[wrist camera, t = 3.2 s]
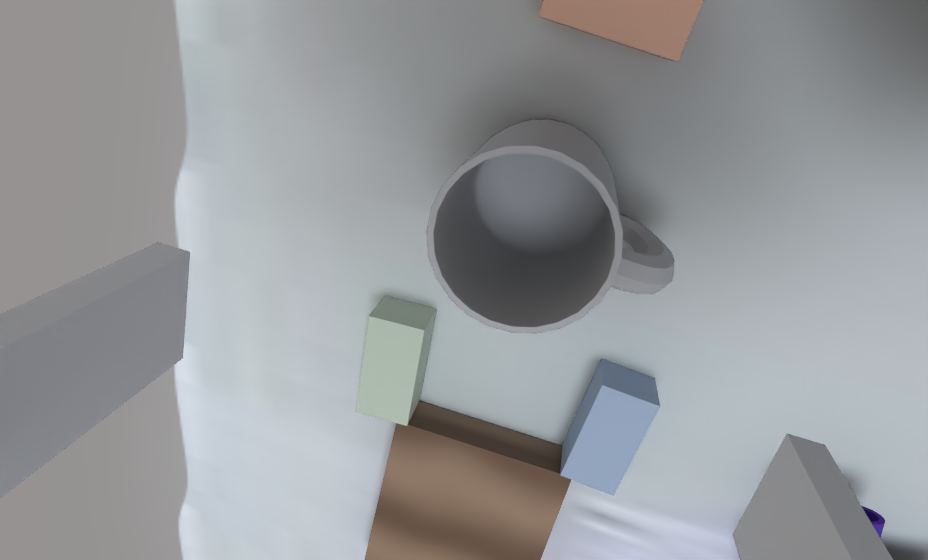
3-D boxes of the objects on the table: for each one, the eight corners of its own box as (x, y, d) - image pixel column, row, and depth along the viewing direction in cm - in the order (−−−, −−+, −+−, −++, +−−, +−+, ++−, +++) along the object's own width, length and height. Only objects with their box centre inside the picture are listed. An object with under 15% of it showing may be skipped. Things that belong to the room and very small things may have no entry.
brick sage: (386, 294, 35) (368, 315, 32) (437, 307, 35) (424, 330, 32) (372, 384, 37) (355, 411, 34) (420, 397, 37) (407, 425, 34)
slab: (409, 397, 37) (397, 421, 34) (573, 449, 36) (572, 477, 34) (373, 545, 41) (361, 574, 39) (518, 594, 40) (513, 627, 38)
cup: (498, 94, 30) (463, 113, 22) (695, 171, 29) (735, 221, 21) (450, 228, 33) (402, 291, 24) (629, 300, 32) (642, 389, 24)
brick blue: (601, 357, 34) (602, 385, 31) (654, 376, 34) (660, 406, 31) (562, 442, 36) (560, 475, 33) (612, 460, 36) (613, 495, 33)
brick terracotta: (543, 18, 28) (538, 15, 26) (566, -53, 27) (563, -64, 24) (669, 60, 28) (678, 61, 25) (698, -11, 27) (711, -17, 24)
